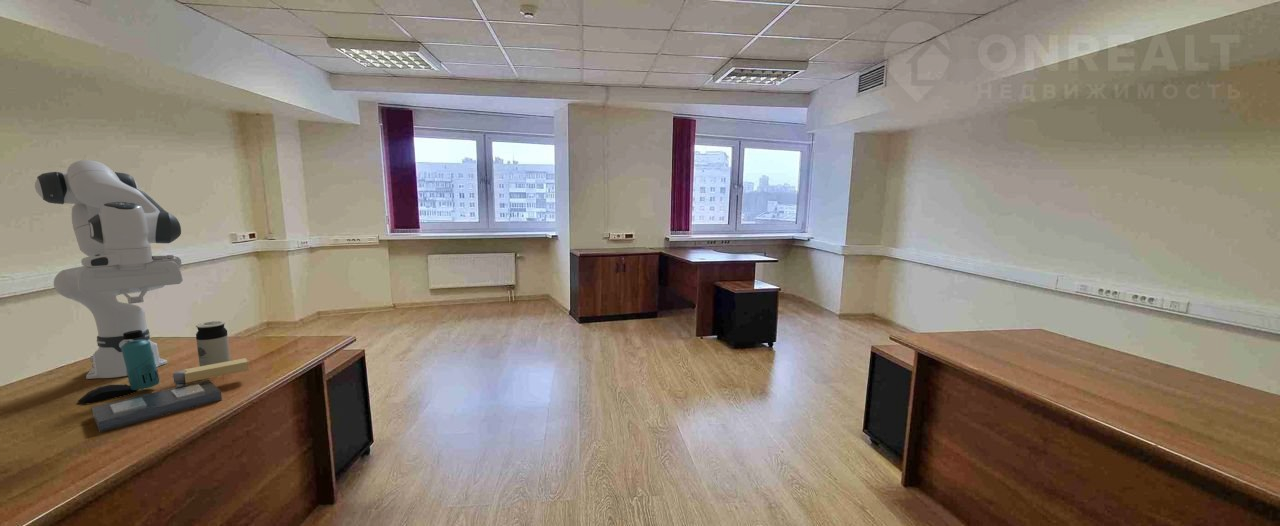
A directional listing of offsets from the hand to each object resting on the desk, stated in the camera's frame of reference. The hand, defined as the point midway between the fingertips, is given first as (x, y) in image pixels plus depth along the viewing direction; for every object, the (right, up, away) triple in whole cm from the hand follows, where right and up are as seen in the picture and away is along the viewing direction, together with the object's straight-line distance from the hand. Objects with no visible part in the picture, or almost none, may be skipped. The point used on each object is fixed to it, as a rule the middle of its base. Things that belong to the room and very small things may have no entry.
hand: (136, 302), depth 129 cm
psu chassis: (+7, -32, +1) cm, 32 cm away
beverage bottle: (-9, -30, +10) cm, 33 cm away
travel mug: (-3, -28, +27) cm, 39 cm away
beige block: (+9, -26, +14) cm, 31 cm away
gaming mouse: (-15, -31, +7) cm, 35 cm away
